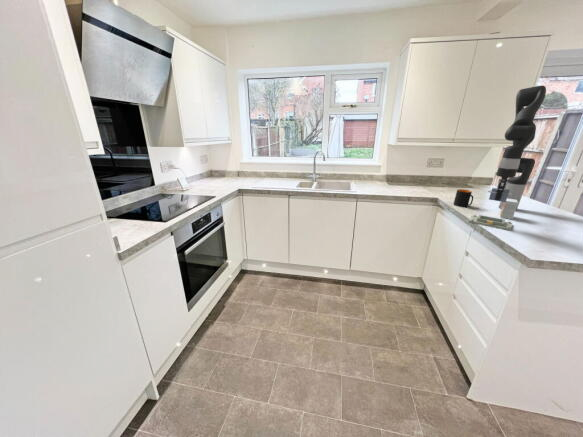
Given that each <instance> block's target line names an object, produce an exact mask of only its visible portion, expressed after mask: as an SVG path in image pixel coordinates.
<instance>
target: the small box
mask: <svg viewBox="0 0 583 437" xmlns="http://www.w3.org/2000/svg"><path fill="white" fill-rule="evenodd" d="M517 205H518V201H517V200H515V199H508V198H507V200H506V202H504V203H503V206H502V209H501V208H500V212H499V218H500V217H501V218H500V219H506V218H507V219H508V220H513V218H514V215H515V212H516V211H517V210H516V208H517ZM518 206H519V205H518ZM517 209H518V208H517ZM515 210H516V211H515Z"/></svg>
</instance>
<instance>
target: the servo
mask: <svg viewBox="0 0 583 437" xmlns="http://www.w3.org/2000/svg"><path fill="white" fill-rule="evenodd" d="M497 190H498V189H497V187H492V189H489V190H487V193H490V195H489V196H488V197H489V198H488V200H489V201H495V202H506V200H507V197H508V195H512V193H511V192H509V191H510V190H508V188H506V189H504V191H503V194H502V196H501V199H500V200H495V197H496V194H497V192H496V191H497ZM499 190H500V191H502V189H499Z"/></svg>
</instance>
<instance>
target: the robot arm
mask: <svg viewBox="0 0 583 437" xmlns="http://www.w3.org/2000/svg"><path fill="white" fill-rule="evenodd" d="M546 94H547V87H546V86H545V85H536V86H532V87H530V86H529V87H526V88H521V89H519V90H518V92H517V94H516V96H515V119H514V121H513V123H512V124H510V126H509V127H508V128H507V129H506V131H505V133H504V139H505V140H506V141H508V142H509V141H510V142H511V141H512V145H508V146H506V147H505V149H504V151H503V154H502V157H501V160H500V162H499V165H498V166H497V167H498V168H497V172H496V174H495V176H497V177H500V179H498V181H497V183H498V184H497V186H496V188H497V189H498V190H497V191H496V192H497V194H496V197H495V200H500V199H501V196H502V194H503V191H504V189H506V188H508V190H510V191H509V192H511V193H512V195H508V197H507V198H508V199H515V200H517V201H518V205H517V208H516V210H515V212H516V211H517V210H518V209H519V205H520V202H521V200H522V198H523V195H524V192H525V189H526V186H527V184H528V183H527V182H528V181H529V179H530V178H531V174H532V172H533V170H534V167H535V164H536V160H535V159H534V158H529V157H522V156H523V153H524V150H525V149H526V148H527V147H528V146H529V145H530V144H531V143H533V141H534V140H535V137H536V131H537V126H536V123H535V122H534V120H535V117H536V114H537V112H538V111H539V109H540V108H541V106H542V104H543V102H544V100H545V99H546ZM516 174H520V175H519V176H516ZM499 189H502V191H500V190H499ZM495 200H494V201H495ZM503 203H504V202H501V201H499V205H498V208H499V209H500V210H501V209H502V206H503Z"/></svg>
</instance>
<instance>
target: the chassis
mask: <svg viewBox="0 0 583 437" xmlns="http://www.w3.org/2000/svg"><path fill="white" fill-rule="evenodd" d="M468 223H472V224H477V225H480V224H481V226H485V225H486V227H490V226H491V228H494V227H496V229H499V228H501V229H500V230H504V229H506V230H505V231H509V230H510V231H512V226H513V222H512V221H509V220H508V221H506V219H505V218H500V217H499V218H497V217H495V216H494V217H492V216H487V215H482V214H479V215H476V214H473V215H471V216H470V218H469V220H468Z"/></svg>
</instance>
